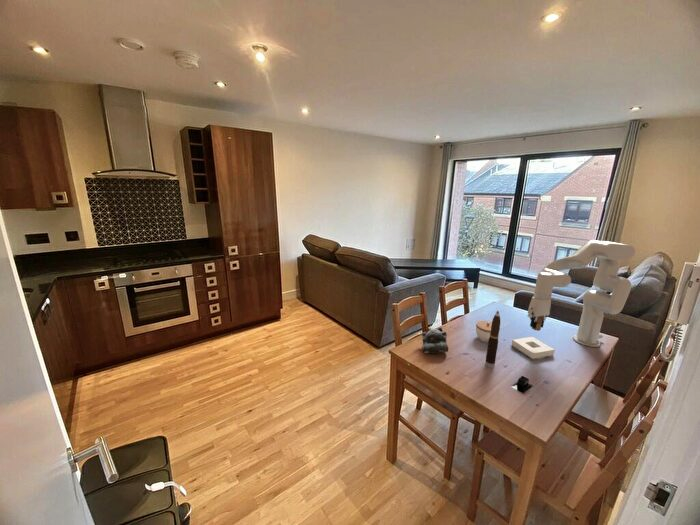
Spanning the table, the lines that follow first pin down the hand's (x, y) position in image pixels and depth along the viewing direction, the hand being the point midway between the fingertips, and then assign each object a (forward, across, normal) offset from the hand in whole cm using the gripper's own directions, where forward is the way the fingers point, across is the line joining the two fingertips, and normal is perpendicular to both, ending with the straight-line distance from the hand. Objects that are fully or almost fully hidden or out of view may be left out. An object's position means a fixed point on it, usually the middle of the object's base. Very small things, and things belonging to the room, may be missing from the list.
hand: (536, 326), depth 154 cm
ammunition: (+15, +32, +5) cm, 36 cm away
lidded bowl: (+15, +16, -17) cm, 28 cm away
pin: (+1, 0, 0) cm, 1 cm away
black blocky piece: (+16, +29, +22) cm, 40 cm away
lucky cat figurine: (+15, +53, -14) cm, 57 cm away
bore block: (+15, 0, 0) cm, 15 cm away
